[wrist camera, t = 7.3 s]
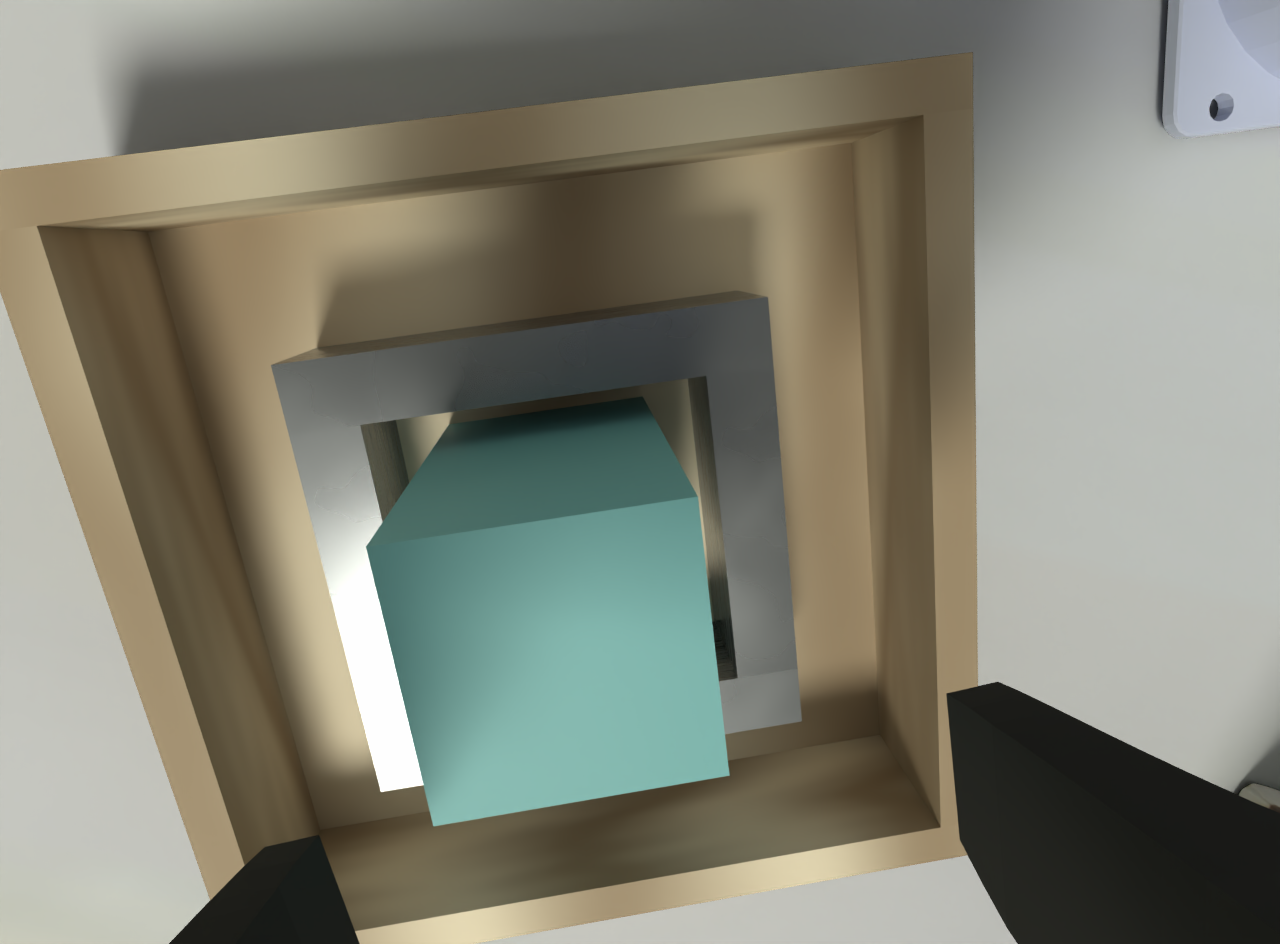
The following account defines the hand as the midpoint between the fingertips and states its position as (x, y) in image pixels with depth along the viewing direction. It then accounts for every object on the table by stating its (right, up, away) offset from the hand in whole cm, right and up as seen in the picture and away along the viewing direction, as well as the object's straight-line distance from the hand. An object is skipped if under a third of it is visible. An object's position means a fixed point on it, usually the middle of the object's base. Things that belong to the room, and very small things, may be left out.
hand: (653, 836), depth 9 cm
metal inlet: (-2, +3, +8) cm, 9 cm away
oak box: (-2, +3, +9) cm, 9 cm away
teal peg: (-2, +3, +8) cm, 9 cm away
